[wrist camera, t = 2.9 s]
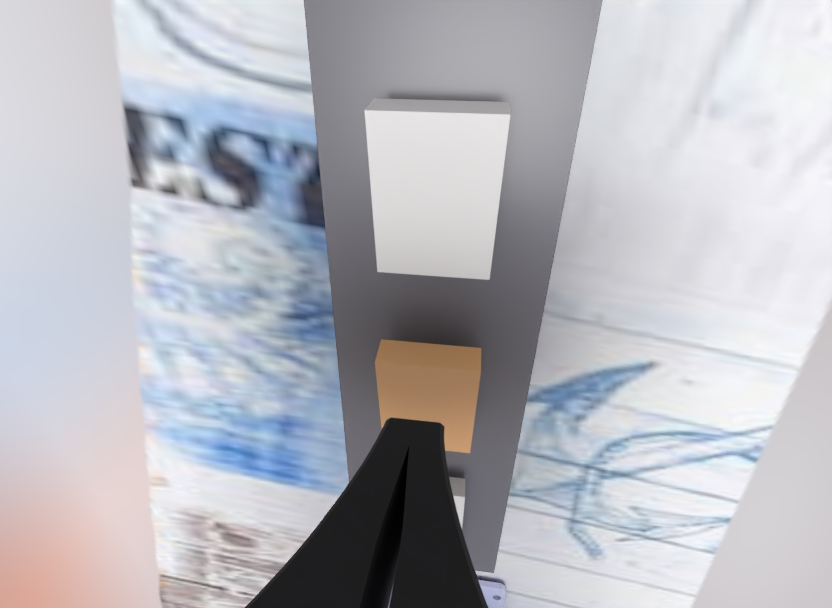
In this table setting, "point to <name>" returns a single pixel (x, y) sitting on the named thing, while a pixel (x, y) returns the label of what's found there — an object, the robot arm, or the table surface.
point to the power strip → (517, 215)
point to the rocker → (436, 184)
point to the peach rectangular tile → (430, 386)
